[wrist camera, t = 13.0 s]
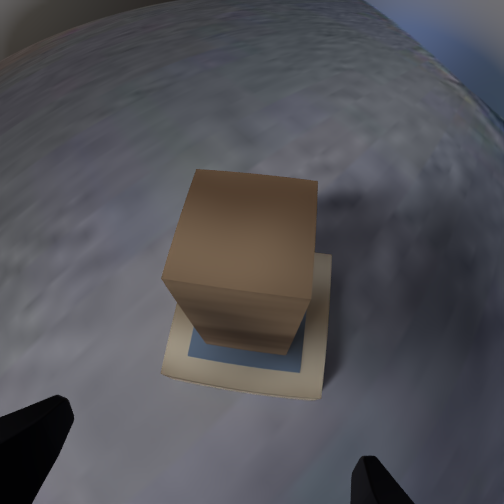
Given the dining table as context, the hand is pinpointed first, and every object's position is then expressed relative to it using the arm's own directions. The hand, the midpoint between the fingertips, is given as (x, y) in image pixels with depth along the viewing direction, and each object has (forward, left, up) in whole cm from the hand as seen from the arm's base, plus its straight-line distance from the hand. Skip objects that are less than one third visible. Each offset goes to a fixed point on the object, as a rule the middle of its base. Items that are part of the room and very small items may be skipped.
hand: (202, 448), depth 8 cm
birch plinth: (+6, +5, -13) cm, 15 cm away
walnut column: (+6, +5, -10) cm, 13 cm away
